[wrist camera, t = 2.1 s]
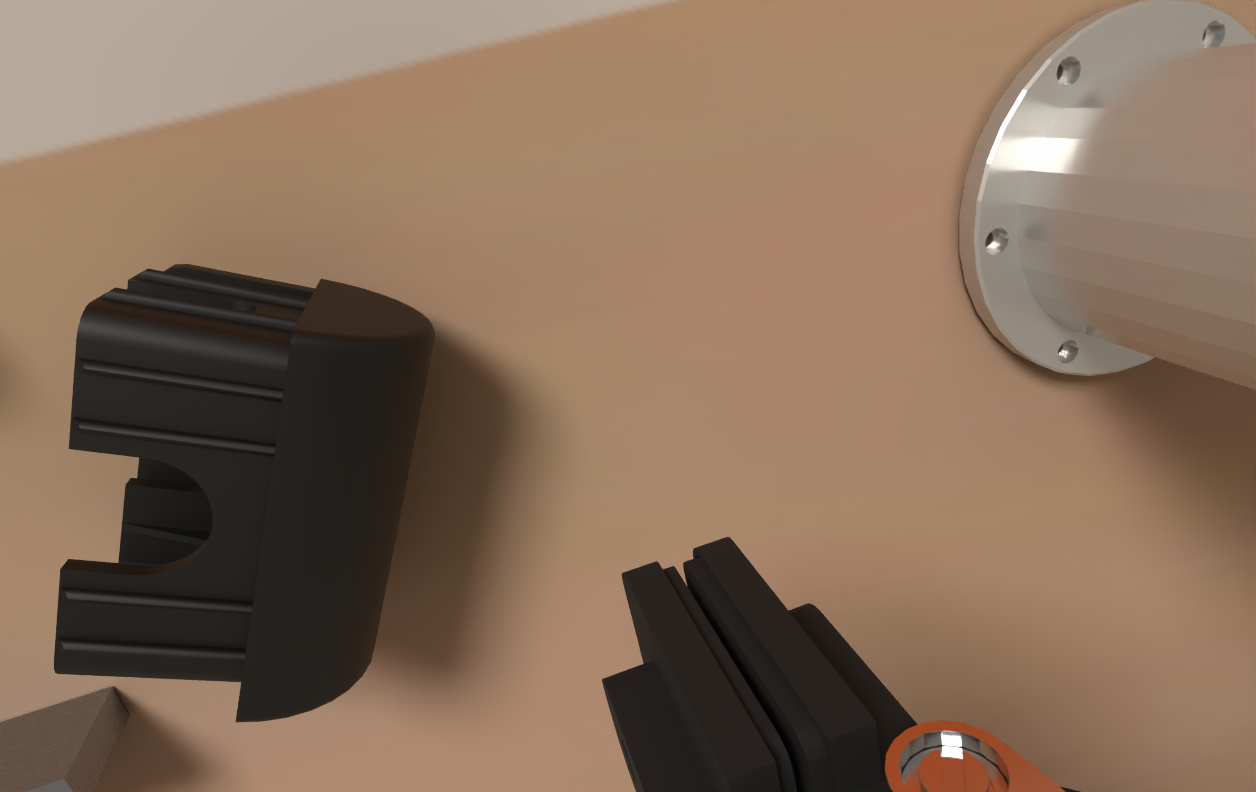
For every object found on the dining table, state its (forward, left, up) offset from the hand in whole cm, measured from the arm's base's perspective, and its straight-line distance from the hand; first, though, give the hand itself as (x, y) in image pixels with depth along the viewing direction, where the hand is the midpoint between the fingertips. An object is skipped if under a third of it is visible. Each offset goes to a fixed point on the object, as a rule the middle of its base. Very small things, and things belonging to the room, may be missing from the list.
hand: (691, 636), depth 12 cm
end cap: (+8, 0, -15) cm, 17 cm away
